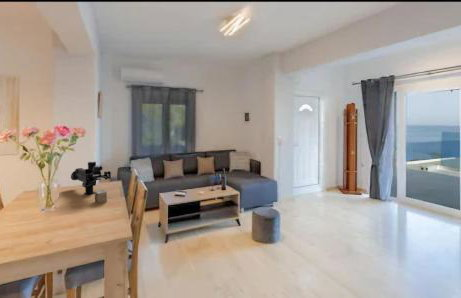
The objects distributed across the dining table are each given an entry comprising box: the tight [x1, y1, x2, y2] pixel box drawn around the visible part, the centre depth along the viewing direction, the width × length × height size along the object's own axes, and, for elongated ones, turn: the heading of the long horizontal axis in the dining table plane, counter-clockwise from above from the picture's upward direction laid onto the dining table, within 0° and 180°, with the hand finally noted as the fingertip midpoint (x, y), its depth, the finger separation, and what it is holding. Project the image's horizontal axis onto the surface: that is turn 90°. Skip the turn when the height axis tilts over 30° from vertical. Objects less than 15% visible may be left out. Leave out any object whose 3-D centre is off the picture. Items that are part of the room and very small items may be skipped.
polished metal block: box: [93, 189, 108, 204], centre depth 192 cm, size 6×6×8 cm
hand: (103, 178), depth 196 cm, fingers open, 9 cm apart
